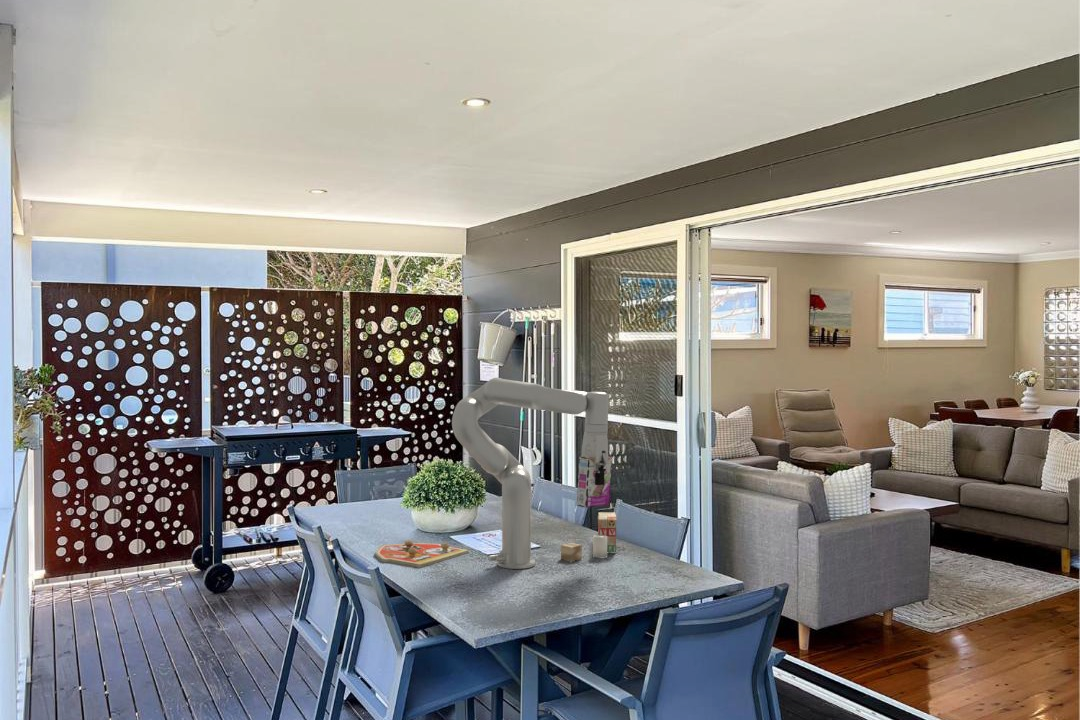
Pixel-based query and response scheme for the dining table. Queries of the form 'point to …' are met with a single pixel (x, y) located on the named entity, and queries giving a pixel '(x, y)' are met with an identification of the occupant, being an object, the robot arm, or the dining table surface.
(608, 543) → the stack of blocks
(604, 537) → the cream plastic peg
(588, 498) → the candy bar box
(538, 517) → the dining table surface
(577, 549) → the oak block
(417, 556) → the knob puzzle
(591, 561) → the dining table surface
